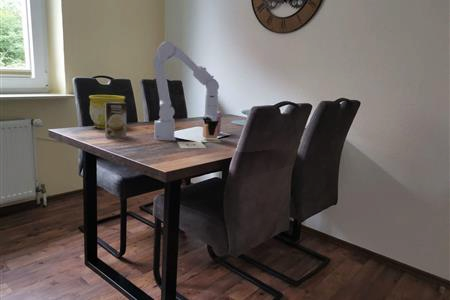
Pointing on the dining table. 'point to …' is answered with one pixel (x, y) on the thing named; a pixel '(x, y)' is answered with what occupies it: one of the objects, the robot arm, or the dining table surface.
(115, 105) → the coffee box
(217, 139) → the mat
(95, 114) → the flowerpot
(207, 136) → the block
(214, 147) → the dining table surface
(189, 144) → the plate
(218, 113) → the box
